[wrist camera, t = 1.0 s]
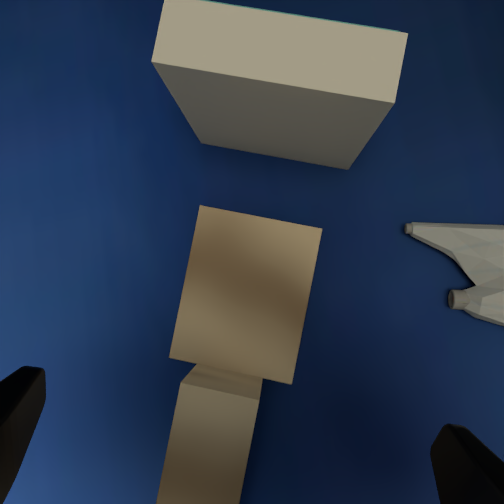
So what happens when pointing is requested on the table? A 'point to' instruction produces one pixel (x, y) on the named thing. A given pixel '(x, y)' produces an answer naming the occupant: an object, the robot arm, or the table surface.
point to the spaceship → (471, 264)
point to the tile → (278, 79)
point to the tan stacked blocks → (233, 345)
